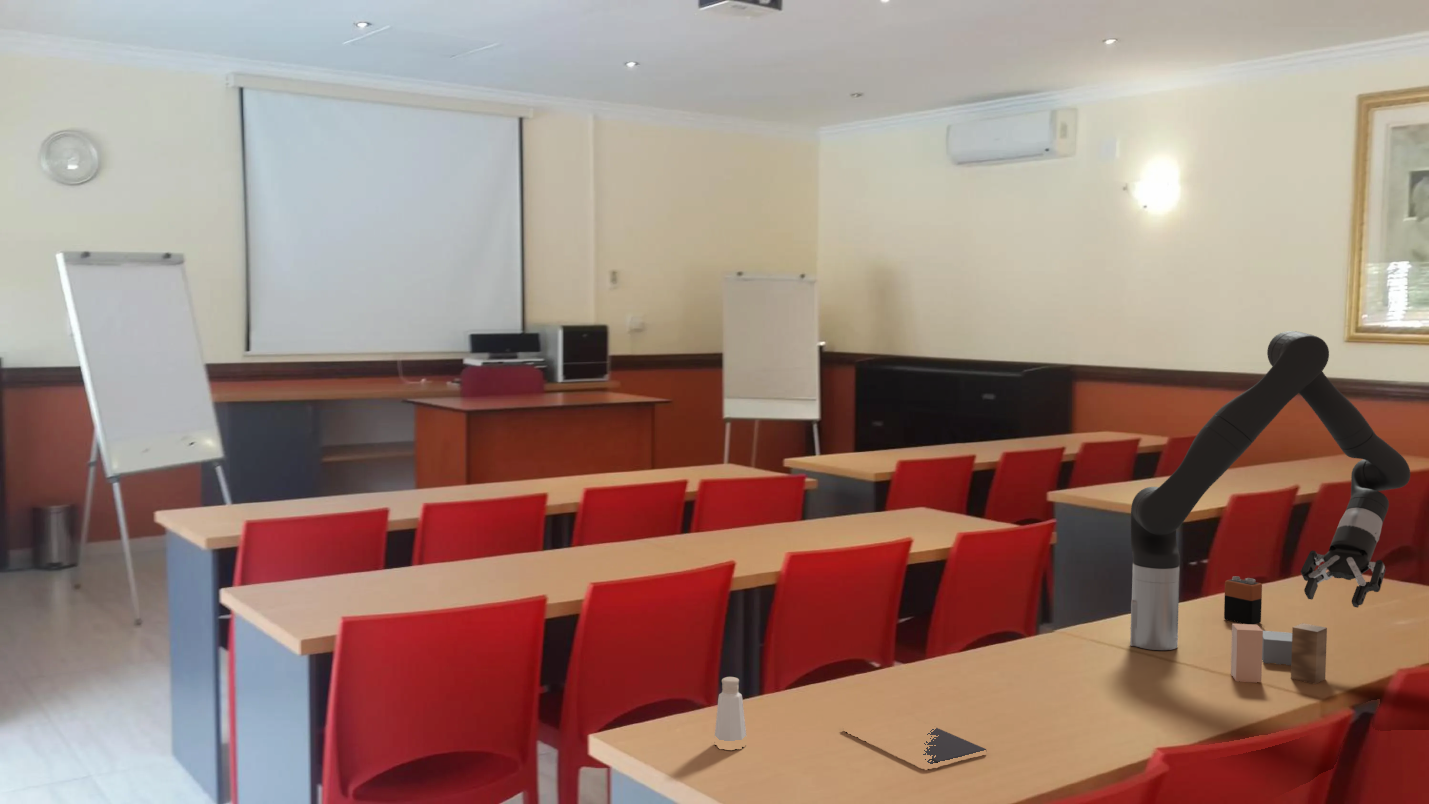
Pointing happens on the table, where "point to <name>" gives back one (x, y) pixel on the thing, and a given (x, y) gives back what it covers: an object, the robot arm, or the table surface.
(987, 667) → the table surface
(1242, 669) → the pale pink block
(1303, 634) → the walnut block
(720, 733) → the pepper shaker
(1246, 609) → the battery
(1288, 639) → the slate gray block
